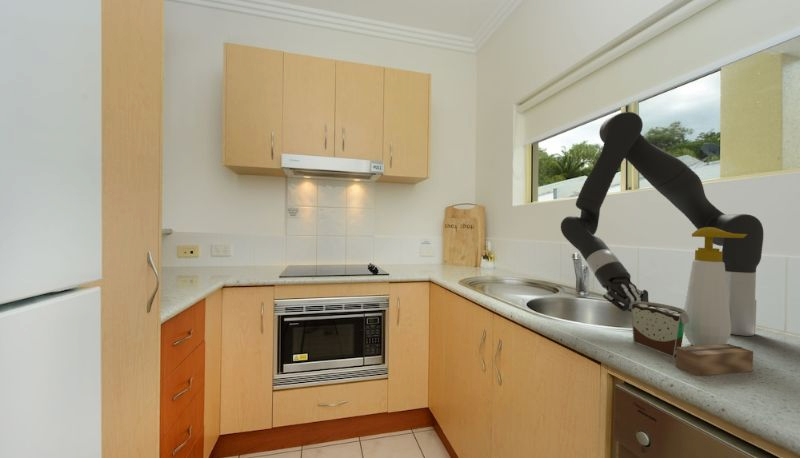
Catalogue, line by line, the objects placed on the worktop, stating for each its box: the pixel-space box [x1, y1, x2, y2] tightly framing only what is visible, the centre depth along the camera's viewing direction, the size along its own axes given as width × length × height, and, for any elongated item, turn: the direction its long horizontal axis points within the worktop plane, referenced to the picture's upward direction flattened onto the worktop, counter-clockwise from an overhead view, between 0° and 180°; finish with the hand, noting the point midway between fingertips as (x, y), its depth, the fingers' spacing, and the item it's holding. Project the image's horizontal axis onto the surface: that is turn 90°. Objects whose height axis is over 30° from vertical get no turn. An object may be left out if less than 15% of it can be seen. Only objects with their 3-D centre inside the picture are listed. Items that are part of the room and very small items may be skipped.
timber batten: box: [675, 343, 754, 377], centre depth 63 cm, size 14×4×4 cm, turn 102°
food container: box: [629, 301, 689, 359], centre depth 74 cm, size 12×6×10 cm, turn 13°
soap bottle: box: [683, 227, 747, 346], centre depth 74 cm, size 13×10×29 cm
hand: (647, 324), depth 78 cm, fingers closed
